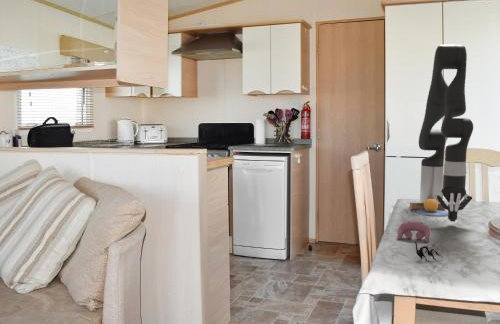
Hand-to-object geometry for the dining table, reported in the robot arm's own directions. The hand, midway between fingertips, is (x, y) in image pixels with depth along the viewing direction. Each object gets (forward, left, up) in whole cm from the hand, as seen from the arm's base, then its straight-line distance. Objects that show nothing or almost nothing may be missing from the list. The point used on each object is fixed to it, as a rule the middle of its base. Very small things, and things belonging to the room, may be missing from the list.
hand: (452, 221), depth 181 cm
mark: (-22, 0, -2) cm, 22 cm away
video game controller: (+22, -20, -2) cm, 30 cm away
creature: (+44, -21, -2) cm, 49 cm away
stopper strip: (-30, 0, -2) cm, 30 cm away
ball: (-24, 0, +1) cm, 24 cm away
